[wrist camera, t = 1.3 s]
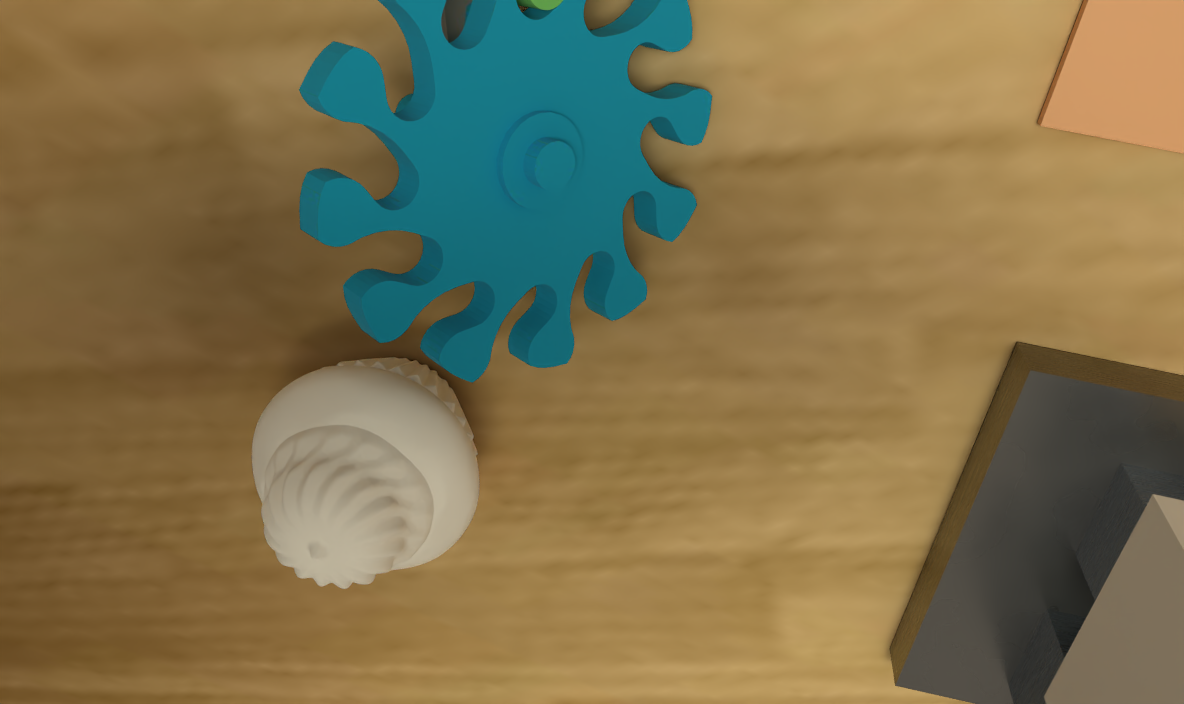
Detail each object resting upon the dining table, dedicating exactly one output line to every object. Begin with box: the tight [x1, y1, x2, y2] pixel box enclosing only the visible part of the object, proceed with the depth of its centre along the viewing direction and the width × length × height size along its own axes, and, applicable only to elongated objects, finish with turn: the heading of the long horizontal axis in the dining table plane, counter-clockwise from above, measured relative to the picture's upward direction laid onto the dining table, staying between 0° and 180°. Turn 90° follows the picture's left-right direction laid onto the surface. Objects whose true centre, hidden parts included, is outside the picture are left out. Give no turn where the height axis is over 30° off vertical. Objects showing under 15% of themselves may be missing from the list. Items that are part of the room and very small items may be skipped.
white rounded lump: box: [252, 357, 480, 589], centre depth 27 cm, size 6×6×7 cm
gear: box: [299, 0, 712, 383], centre depth 22 cm, size 11×6×10 cm
